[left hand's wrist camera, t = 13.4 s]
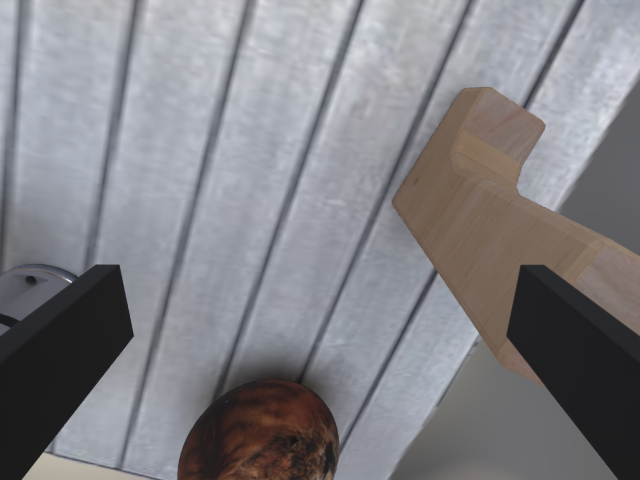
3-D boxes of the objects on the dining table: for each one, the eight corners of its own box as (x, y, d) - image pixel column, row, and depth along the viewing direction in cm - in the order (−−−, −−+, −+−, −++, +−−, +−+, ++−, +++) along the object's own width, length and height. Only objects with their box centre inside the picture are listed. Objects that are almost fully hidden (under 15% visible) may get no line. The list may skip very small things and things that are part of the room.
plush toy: (265, 522, 58) (167, 610, 40) (225, 408, 65) (125, 441, 47) (388, 463, 53) (337, 533, 35) (330, 346, 60) (263, 355, 42)
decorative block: (516, 120, 43) (898, 163, 14) (439, 231, 47) (615, 427, 19) (462, 85, 41) (764, 60, 13) (388, 203, 46) (496, 369, 18)
